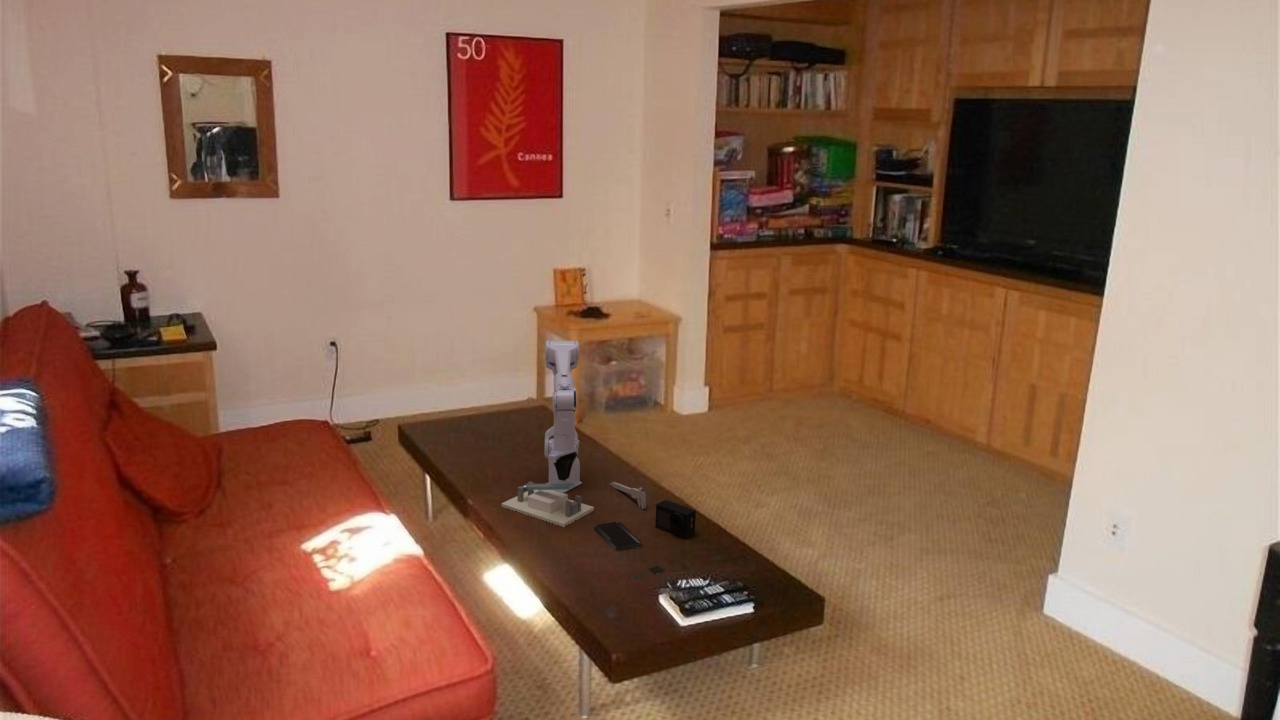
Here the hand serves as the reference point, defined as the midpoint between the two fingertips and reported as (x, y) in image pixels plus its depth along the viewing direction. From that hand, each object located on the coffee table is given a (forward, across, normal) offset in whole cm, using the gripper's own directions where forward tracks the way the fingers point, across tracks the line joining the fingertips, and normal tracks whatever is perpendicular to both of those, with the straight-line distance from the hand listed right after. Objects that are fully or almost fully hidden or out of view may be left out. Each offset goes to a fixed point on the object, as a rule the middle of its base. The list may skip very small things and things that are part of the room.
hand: (563, 478), depth 264 cm
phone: (+11, +6, +20) cm, 23 cm away
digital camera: (+11, -4, +32) cm, 33 cm away
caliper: (+11, -19, +11) cm, 25 cm away
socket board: (+10, -1, -5) cm, 12 cm away
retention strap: (+4, -1, -5) cm, 7 cm away
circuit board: (+11, +19, +36) cm, 42 cm away
